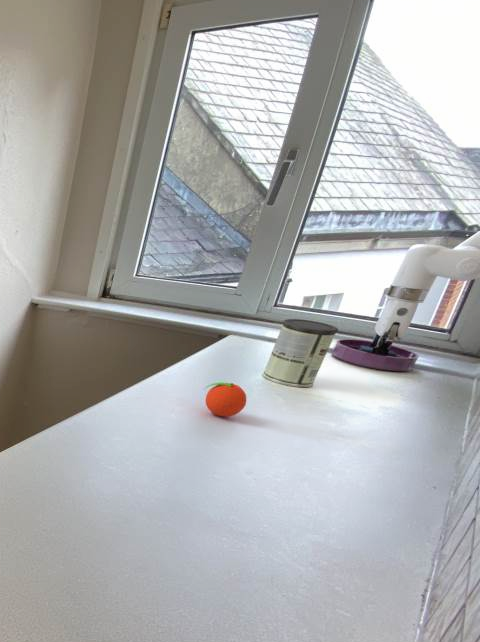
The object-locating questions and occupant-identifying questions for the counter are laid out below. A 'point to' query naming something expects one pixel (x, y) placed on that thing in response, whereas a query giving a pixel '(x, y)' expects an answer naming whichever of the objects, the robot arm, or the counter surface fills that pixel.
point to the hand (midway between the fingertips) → (373, 359)
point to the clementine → (225, 399)
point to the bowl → (374, 356)
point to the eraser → (369, 349)
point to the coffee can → (299, 352)
